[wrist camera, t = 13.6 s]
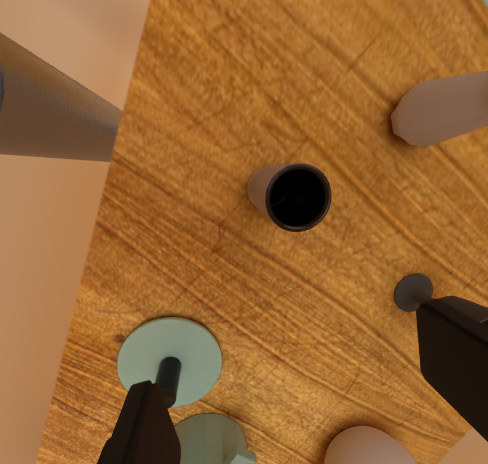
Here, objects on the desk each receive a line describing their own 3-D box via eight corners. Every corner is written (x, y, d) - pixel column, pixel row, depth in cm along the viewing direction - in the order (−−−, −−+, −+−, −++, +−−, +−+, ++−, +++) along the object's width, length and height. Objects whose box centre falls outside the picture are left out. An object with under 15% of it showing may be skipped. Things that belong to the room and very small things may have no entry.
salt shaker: (442, 130, 28) (627, 98, 16) (395, 159, 28) (541, 151, 16) (423, 76, 27) (610, -7, 14) (373, 107, 27) (515, 52, 14)
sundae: (443, 304, 33) (622, 409, 19) (394, 325, 33) (535, 447, 19) (433, 257, 32) (621, 333, 17) (381, 279, 31) (525, 374, 17)
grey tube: (243, 168, 27) (261, 168, 17) (287, 162, 27) (330, 158, 17) (249, 213, 28) (268, 237, 18) (291, 206, 28) (334, 227, 18)
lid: (101, 375, 30) (76, 419, 25) (154, 296, 29) (140, 325, 23) (188, 414, 33) (183, 462, 27) (240, 343, 31) (246, 379, 26)
